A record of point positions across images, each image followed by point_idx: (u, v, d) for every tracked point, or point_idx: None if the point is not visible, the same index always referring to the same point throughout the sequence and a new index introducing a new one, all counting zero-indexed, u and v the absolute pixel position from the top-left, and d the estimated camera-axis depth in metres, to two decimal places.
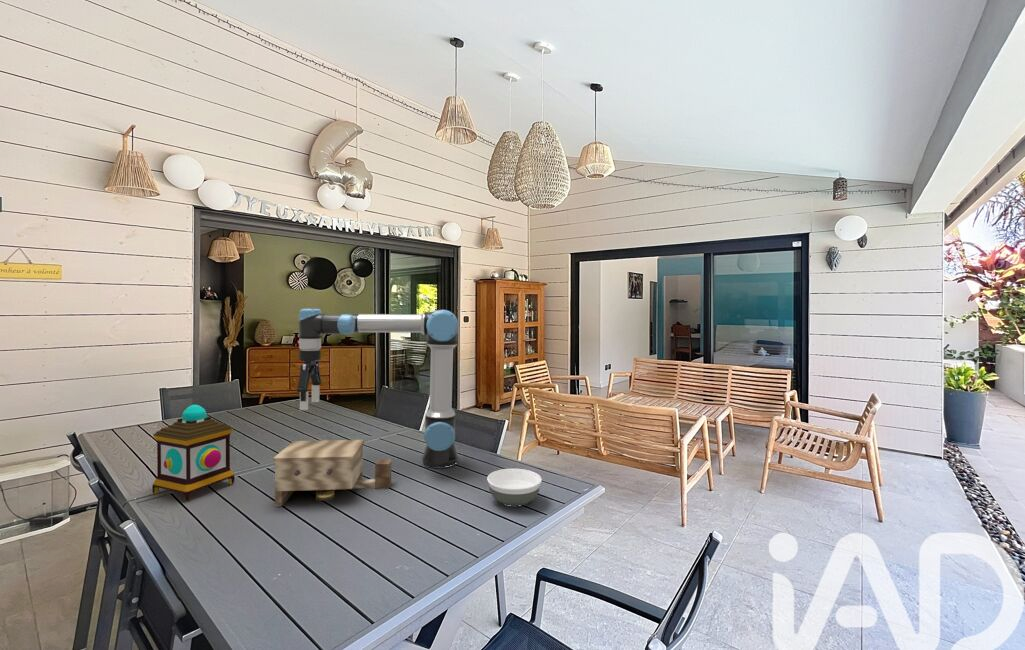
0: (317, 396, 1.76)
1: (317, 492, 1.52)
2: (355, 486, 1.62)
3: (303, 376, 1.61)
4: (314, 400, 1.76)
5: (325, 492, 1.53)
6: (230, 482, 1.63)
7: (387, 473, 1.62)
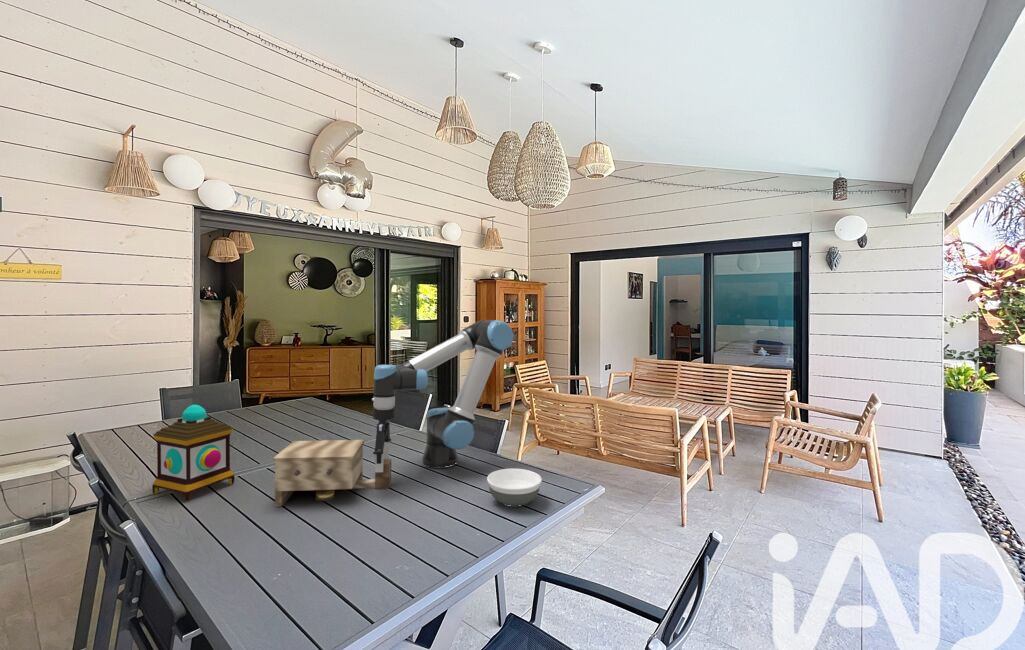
0: (387, 453, 1.71)
1: (317, 492, 1.52)
2: (355, 486, 1.62)
3: (379, 438, 1.56)
4: (384, 457, 1.70)
5: (325, 492, 1.53)
6: (230, 482, 1.63)
7: (387, 473, 1.62)
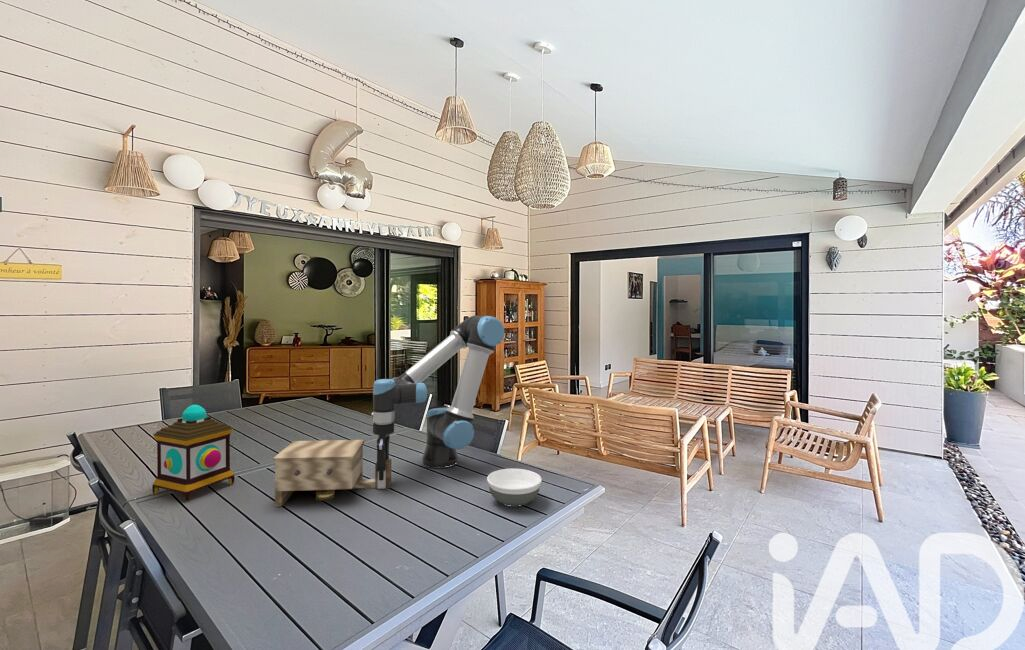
0: None
1: (317, 492, 1.52)
2: (355, 486, 1.62)
3: (380, 457, 1.58)
4: None
5: (325, 491, 1.53)
6: (230, 482, 1.63)
7: (387, 473, 1.62)
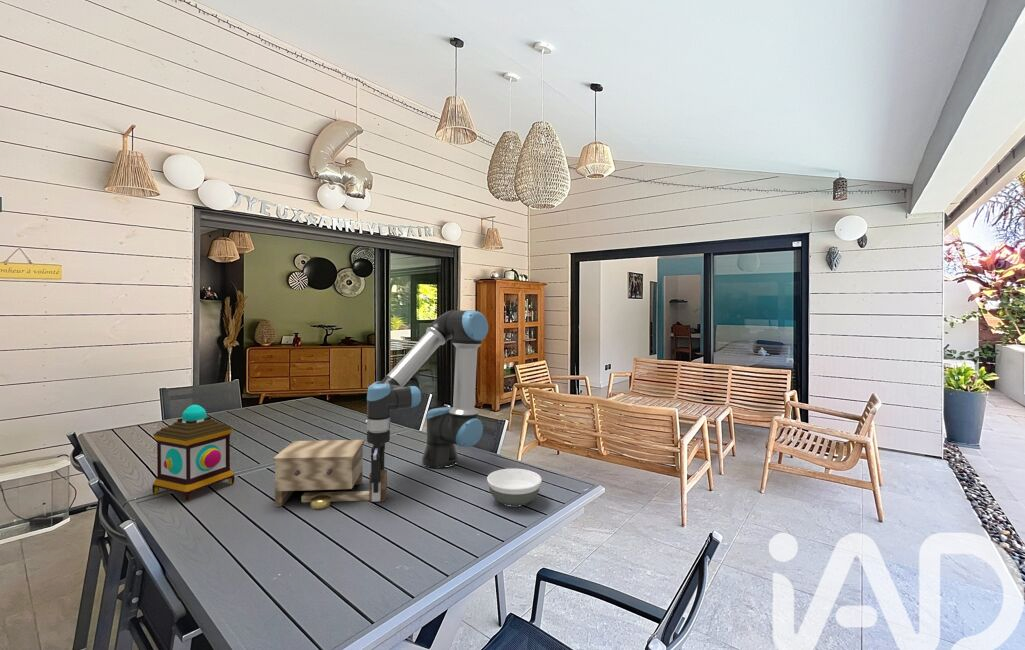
0: None
1: (313, 501, 1.45)
2: (348, 498, 1.51)
3: (375, 467, 1.47)
4: None
5: (321, 500, 1.46)
6: (230, 482, 1.63)
7: (382, 485, 1.51)
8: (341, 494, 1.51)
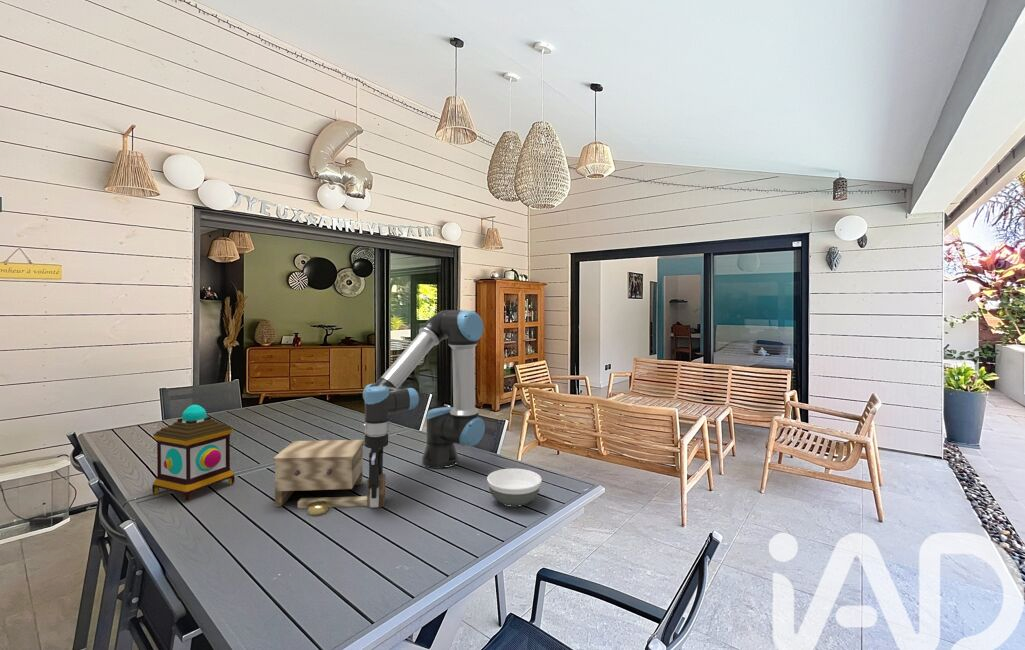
0: None
1: (311, 507, 1.41)
2: (345, 504, 1.47)
3: (373, 472, 1.43)
4: None
5: (319, 505, 1.42)
6: (230, 482, 1.63)
7: (380, 490, 1.47)
8: (338, 500, 1.47)
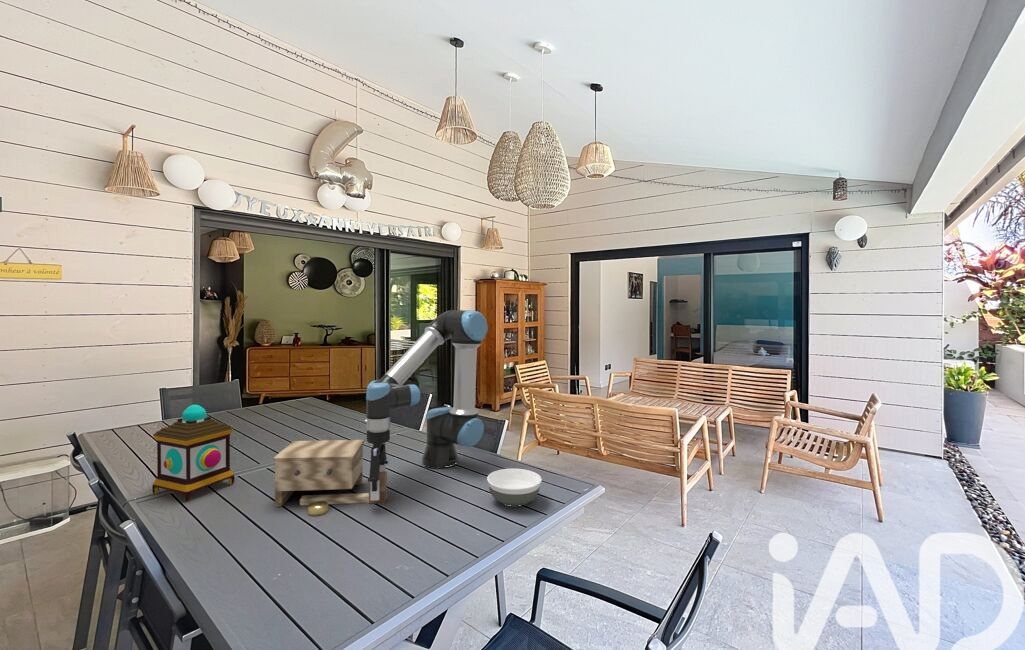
0: None
1: (311, 508, 1.41)
2: (347, 501, 1.49)
3: (374, 464, 1.44)
4: None
5: (319, 506, 1.42)
6: (230, 482, 1.63)
7: (382, 487, 1.50)
8: (340, 497, 1.50)
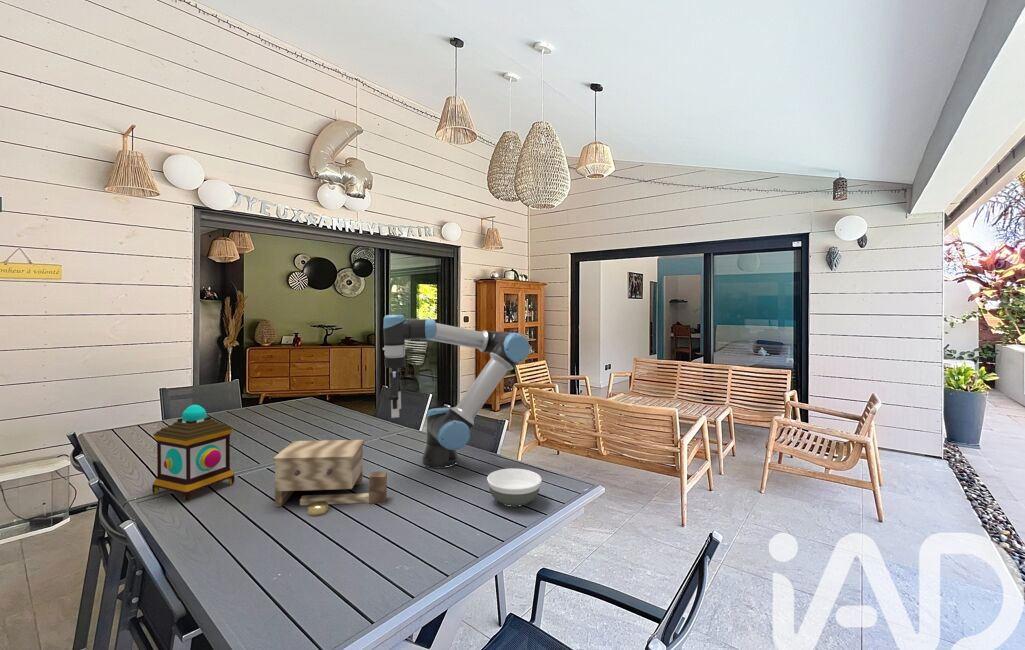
0: (399, 402, 1.75)
1: (311, 508, 1.41)
2: (347, 501, 1.49)
3: (394, 384, 1.60)
4: None
5: (319, 506, 1.42)
6: (230, 482, 1.63)
7: (382, 487, 1.50)
8: (340, 497, 1.50)
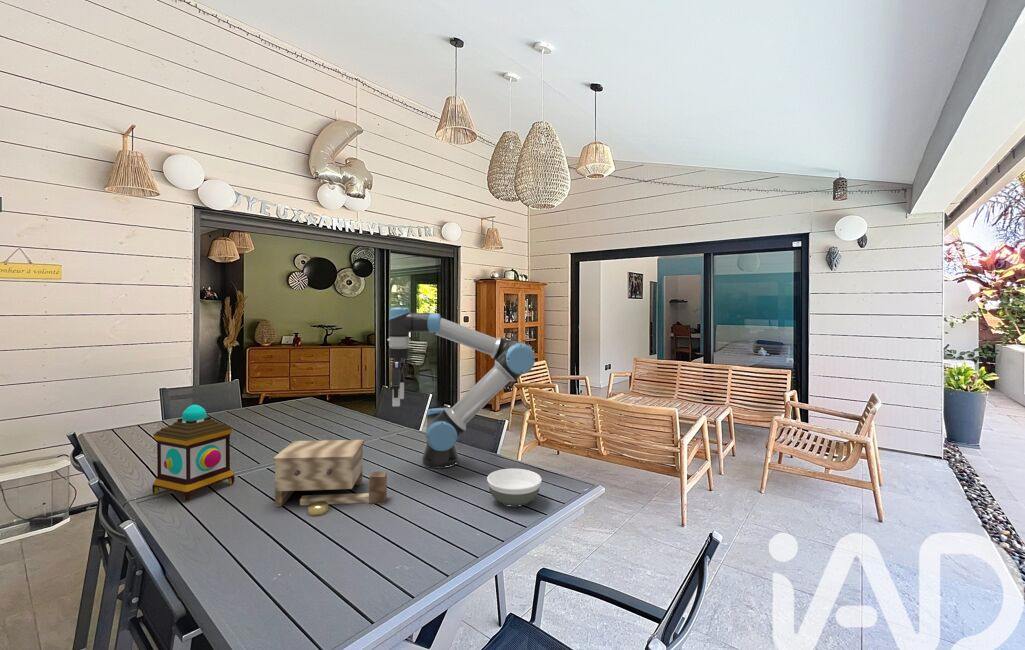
0: (402, 393, 1.80)
1: (311, 508, 1.41)
2: (347, 501, 1.49)
3: (396, 373, 1.65)
4: (399, 397, 1.80)
5: (319, 506, 1.42)
6: (230, 482, 1.63)
7: (382, 487, 1.50)
8: (340, 497, 1.50)
